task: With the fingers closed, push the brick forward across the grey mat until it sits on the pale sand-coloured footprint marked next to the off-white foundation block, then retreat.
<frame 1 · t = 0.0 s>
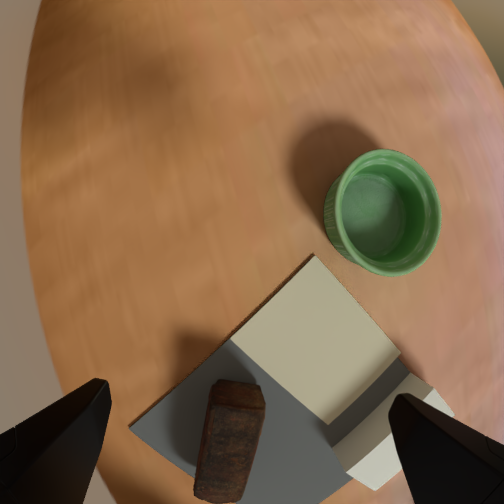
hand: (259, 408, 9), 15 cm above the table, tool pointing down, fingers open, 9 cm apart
grey mat: (296, 427, 25), on the table
foundation block: (385, 424, 25), resting on grey mat
ramekin: (366, 216, 25), on the table
brick: (225, 431, 24), resting on grey mat
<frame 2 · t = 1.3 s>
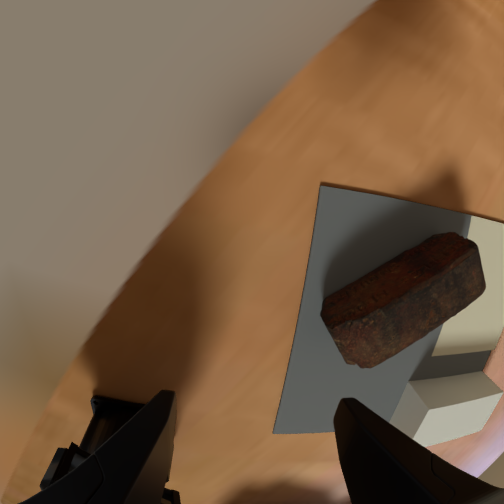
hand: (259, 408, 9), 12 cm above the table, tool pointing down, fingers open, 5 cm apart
grey mat: (419, 335, 22), on the table
foundation block: (439, 397, 25), resting on grey mat
brick: (388, 284, 21), resting on grey mat
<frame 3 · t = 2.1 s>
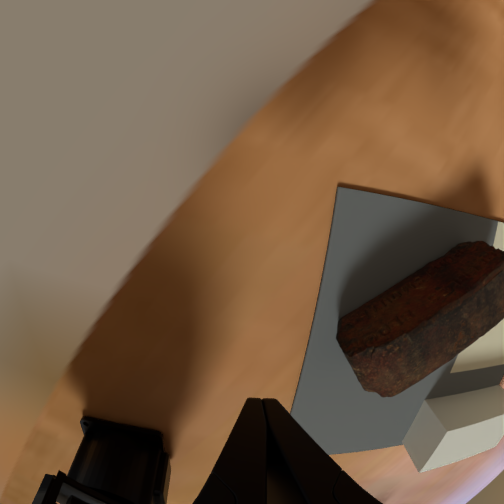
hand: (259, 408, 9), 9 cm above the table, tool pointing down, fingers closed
grey mat: (439, 351, 20), on the table
foundation block: (454, 413, 22), resting on grey mat
brick: (410, 299, 18), resting on grey mat
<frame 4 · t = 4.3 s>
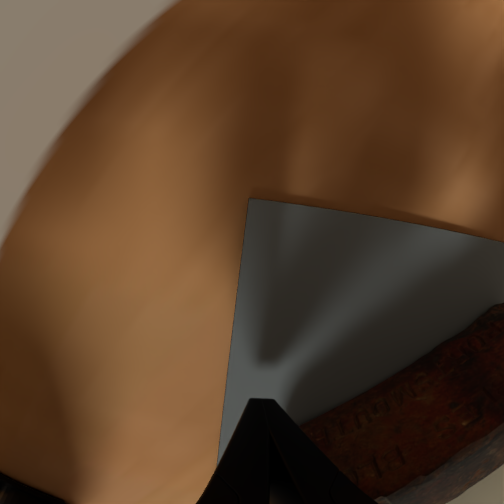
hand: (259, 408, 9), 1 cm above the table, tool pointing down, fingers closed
grey mat: (434, 440, 12), on the table
foundation block: (448, 493, 14), resting on grey mat
brick: (405, 393, 11), resting on grey mat, touching gripper
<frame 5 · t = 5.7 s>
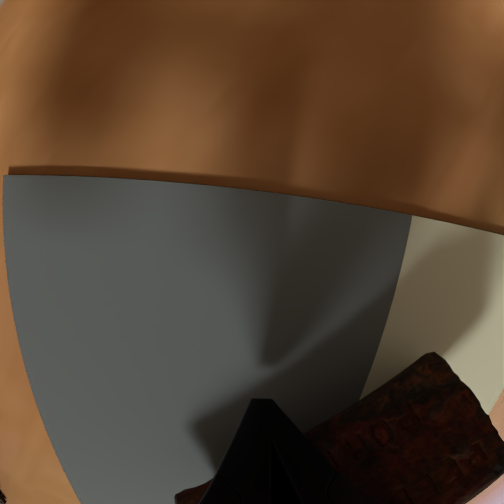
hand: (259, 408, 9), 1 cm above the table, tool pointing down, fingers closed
grey mat: (287, 454, 11), on the table
brick: (300, 439, 10), point 1 cm above the table, touching grey mat, gripper
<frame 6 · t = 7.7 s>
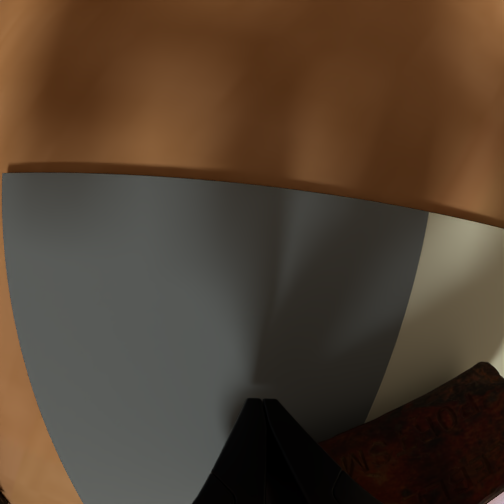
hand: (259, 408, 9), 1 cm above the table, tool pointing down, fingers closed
grey mat: (300, 458, 11), on the table
brick: (355, 434, 10), point 1 cm above the table, touching grey mat, gripper
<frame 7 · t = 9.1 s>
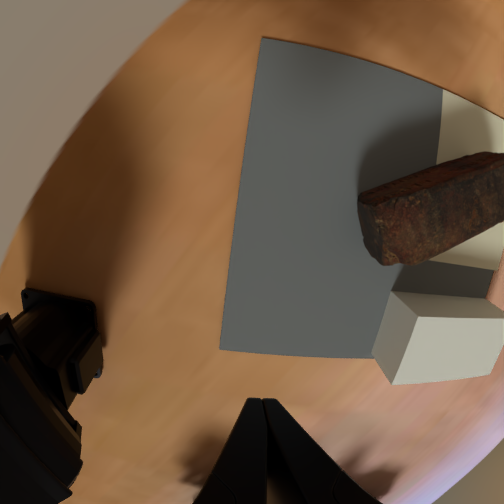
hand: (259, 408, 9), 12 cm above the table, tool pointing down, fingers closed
grey mat: (399, 224, 19), on the table
foundation block: (434, 325, 22), resting on grey mat
brick: (423, 197, 19), resting on grey mat
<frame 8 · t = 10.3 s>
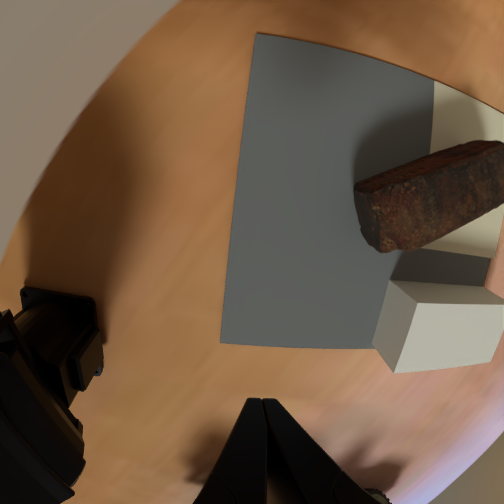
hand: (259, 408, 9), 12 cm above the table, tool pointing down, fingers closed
grey mat: (395, 213, 20), on the table
foundation block: (433, 313, 22), resting on grey mat
brick: (418, 186, 19), resting on grey mat
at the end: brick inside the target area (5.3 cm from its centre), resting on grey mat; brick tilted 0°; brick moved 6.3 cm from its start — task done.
